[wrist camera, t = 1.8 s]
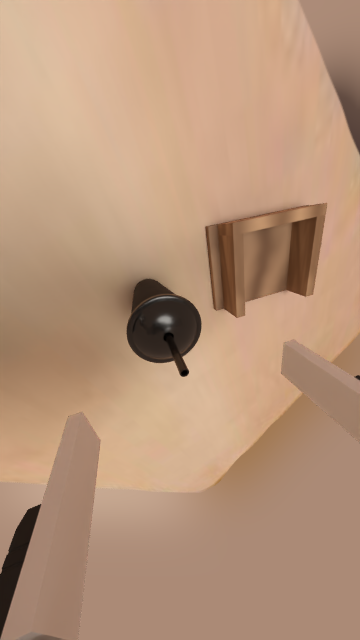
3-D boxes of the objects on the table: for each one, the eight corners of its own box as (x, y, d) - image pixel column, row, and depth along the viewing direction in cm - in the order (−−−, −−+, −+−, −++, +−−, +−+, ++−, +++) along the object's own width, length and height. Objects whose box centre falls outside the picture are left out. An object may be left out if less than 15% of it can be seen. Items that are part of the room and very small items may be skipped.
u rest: (214, 308, 35) (228, 320, 30) (205, 226, 29) (222, 225, 24) (295, 284, 38) (319, 292, 33) (303, 205, 32) (335, 200, 27)
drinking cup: (175, 308, 33) (235, 391, 16) (133, 320, 32) (146, 426, 14) (166, 264, 30) (229, 309, 12) (118, 276, 28) (111, 346, 11)
